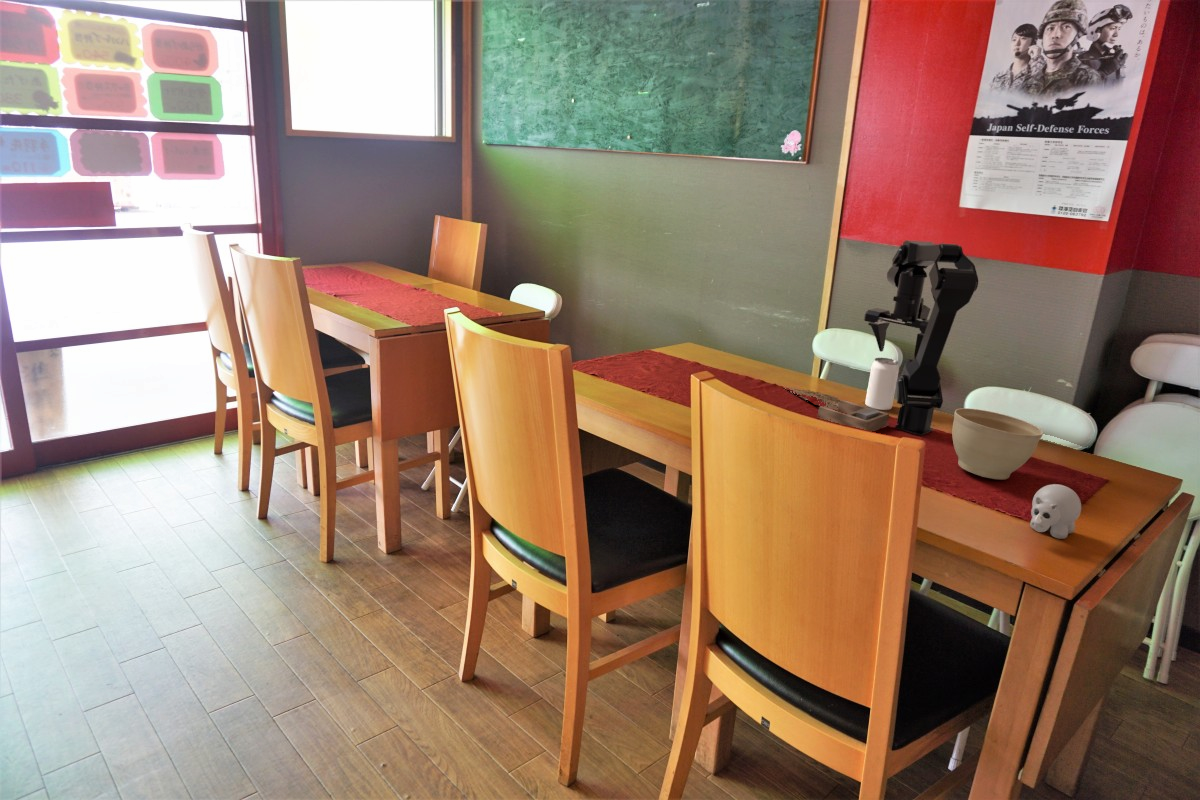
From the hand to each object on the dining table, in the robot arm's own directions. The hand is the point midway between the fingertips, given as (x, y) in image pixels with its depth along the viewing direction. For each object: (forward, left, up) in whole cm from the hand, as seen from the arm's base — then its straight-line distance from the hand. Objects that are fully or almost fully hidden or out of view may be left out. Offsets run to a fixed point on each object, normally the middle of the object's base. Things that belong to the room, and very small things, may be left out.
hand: (898, 355), depth 196 cm
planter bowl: (-34, +26, -13) cm, 45 cm away
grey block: (-5, +21, -13) cm, 25 cm away
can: (+1, +4, -13) cm, 14 cm away
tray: (-2, +21, -13) cm, 25 cm away
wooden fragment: (+11, +13, -14) cm, 22 cm away
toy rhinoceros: (-53, +45, -13) cm, 71 cm away
